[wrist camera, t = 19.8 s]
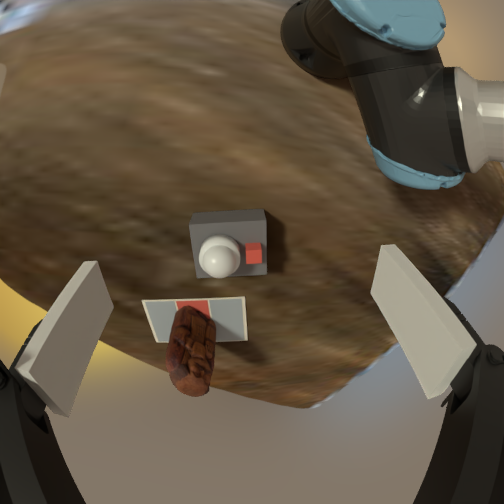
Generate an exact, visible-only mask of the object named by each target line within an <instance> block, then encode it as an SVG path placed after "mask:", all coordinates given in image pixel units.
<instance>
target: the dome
mask: <svg viewBox="0 0 504 504" xmlns="http://www.w3.org/2000/svg"><path fill="white" fill-rule="evenodd" d="M199 263H200V266H201V267H202V269H203V270H204V271H205V272H206V273H208V274H209V275H210V276H212V277H215V278H224V277H227V276H229V275H231V274H232V273H234V272H235V271H236V270H237V269H238V267H239V265H240V248H239V245H238V243H237V242H236V241H235V240H234V239H233V238H232V237H230V236H227V235H224V234H216V235H212V236H210V237H208V238H207V239H206V240H205V241H204V242H203V244H202V246H201V250H200V254H199Z"/></svg>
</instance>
